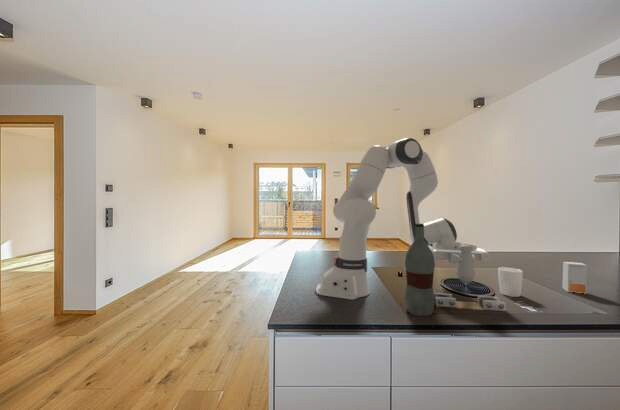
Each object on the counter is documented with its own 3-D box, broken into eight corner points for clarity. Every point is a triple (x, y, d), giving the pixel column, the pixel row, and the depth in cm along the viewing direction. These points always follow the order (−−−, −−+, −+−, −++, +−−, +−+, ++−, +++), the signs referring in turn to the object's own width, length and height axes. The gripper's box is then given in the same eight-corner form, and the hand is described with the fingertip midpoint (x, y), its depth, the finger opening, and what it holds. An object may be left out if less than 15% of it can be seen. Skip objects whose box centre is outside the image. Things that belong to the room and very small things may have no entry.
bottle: (434, 308, 90) (434, 223, 89) (435, 319, 81) (435, 225, 81) (405, 303, 93) (406, 222, 93) (403, 313, 85) (404, 224, 85)
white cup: (516, 299, 98) (516, 273, 98) (493, 292, 105) (494, 268, 105) (526, 295, 102) (526, 270, 102) (503, 289, 109) (504, 266, 109)
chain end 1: (436, 306, 91) (436, 298, 91) (432, 300, 97) (432, 292, 96) (456, 307, 90) (456, 299, 90) (450, 301, 95) (450, 293, 95)
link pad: (457, 308, 90) (457, 307, 90) (451, 301, 96) (451, 300, 96) (484, 310, 88) (484, 309, 88) (476, 303, 94) (476, 302, 94)
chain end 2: (484, 309, 88) (484, 301, 88) (477, 303, 94) (477, 295, 94) (505, 311, 87) (505, 302, 87) (497, 304, 92) (497, 296, 92)
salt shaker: (477, 283, 90) (477, 246, 91) (460, 281, 92) (460, 245, 92) (471, 278, 96) (471, 244, 97) (454, 277, 97) (454, 243, 98)
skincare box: (567, 292, 105) (568, 263, 105) (562, 289, 109) (562, 261, 109) (587, 294, 103) (587, 265, 103) (580, 291, 107) (581, 262, 107)
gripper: (426, 243, 109) (436, 249, 95) (479, 245, 105) (497, 251, 91) (426, 258, 109) (436, 266, 95) (478, 260, 105) (497, 269, 91)
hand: (466, 259), depth 93 cm, fingers closed on salt shaker, 3 cm apart
